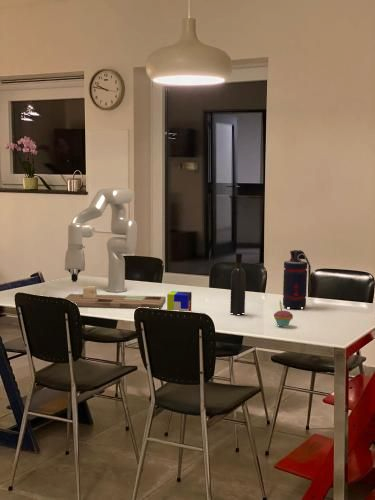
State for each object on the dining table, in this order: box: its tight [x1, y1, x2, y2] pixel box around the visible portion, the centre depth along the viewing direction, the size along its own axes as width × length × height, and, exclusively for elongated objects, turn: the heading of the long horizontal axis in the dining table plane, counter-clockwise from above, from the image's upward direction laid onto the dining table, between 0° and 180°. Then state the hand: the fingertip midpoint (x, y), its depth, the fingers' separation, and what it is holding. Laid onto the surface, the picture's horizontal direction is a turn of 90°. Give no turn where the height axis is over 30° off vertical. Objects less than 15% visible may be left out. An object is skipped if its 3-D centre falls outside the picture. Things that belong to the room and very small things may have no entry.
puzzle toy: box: [166, 290, 192, 312], centre depth 329 cm, size 10×10×10 cm
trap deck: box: [64, 293, 167, 310], centre depth 352 cm, size 24×52×2 cm, turn 86°
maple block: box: [82, 285, 98, 298], centre depth 358 cm, size 6×6×5 cm
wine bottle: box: [229, 252, 247, 314], centre depth 328 cm, size 6×6×30 cm
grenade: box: [282, 249, 312, 309], centre depth 347 cm, size 14×12×30 cm
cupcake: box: [273, 300, 294, 327], centre depth 303 cm, size 9×8×12 cm
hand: (74, 281), depth 358 cm, fingers closed
